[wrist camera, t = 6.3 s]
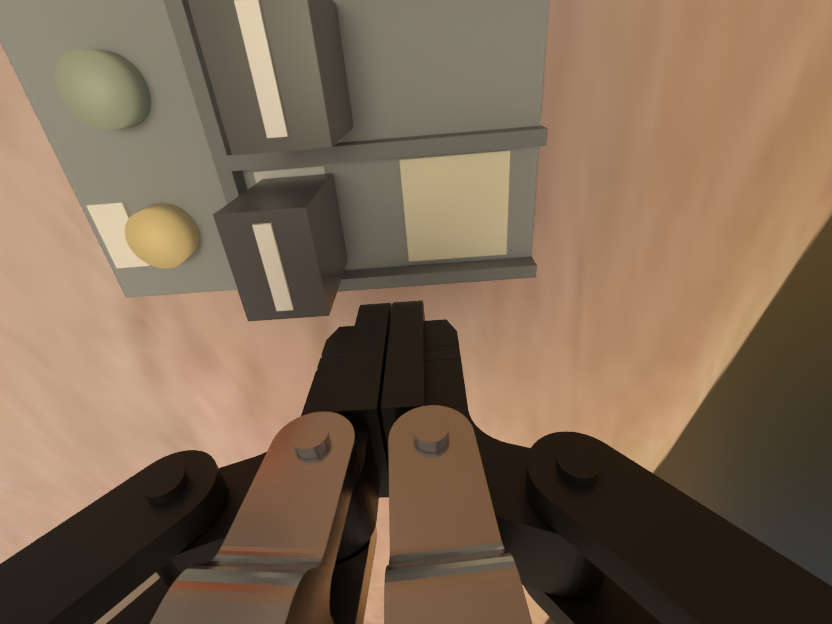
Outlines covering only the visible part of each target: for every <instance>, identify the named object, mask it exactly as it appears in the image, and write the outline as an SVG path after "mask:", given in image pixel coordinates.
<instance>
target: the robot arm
mask: <svg viewBox="0 0 832 624" xmlns="http://www.w3.org/2000/svg"><path fill="white" fill-rule="evenodd" d="M317 368H318V370H317V371H316V373H315V376H314V379H313V382H312V385H311V388H310V391H309V394H308V397H307V400H306V403H305V406H304V409H303V412H302V415H301V417H299V418H296V419H295V420H293V421H291V422H290V423H288V424H287V425H286V426H284V427H283V428H282V429H281V430H280V431H279V432H278V434H277V435H276V436H275V438H274V439H273V441H272V443H271V445H270V447H269V449H268V451H267V452H265V453H263V454H261V455H258V456H256V457H253V458H250V459H246V460H243V461H240V462H237V463H234V464H231V465H228V466H224V467H221V468H218V466H217V464H216V462H215V460H214V459H213V458H212V456H210V455H209V454H207V453H205V452H202V451H197V450H188V451H181V452H177V453H173V454H171V455H168V456H165V457H163V458H161V459H159V460H157V461H156V462H154V463H152V464H151V465H149V466H147V467H146V468H144V469H143V470H141V471H140V472H138V473H137V474H135V475H134V476H132V477H131V478H129V479H128V480H126V481H125V482H123V483H122V484H120V485H119V486H117V487H116V488H114V489H113V490H111V491H110V492H108V493H107V494H105V495H104V496H102V497H101V498H99V499H98V500H96V501H95V502H93V503H92V504H90V505H89V506H87V507H86V508H84V509H83V510H81V511H80V512H78V513H77V514H75V515H73V516H72V517H70V518H69V519H67V520H66V521H64V522H63V523H61V524H60V525H58V526H57V527H55V528H54V529H52V530H51V531H49V532H48V533H46V534H45V535H43V536H42V537H40V538H39V539H37V540H36V541H34V542H33V543H31V544H30V545H28V546H27V547H25V548H24V549H22V550H21V551H19V552H18V553H16V554H15V555H13V556H12V557H10V558H9V559H7V560H6V561H4V562H3V563H1V564H0V624H94V623H96V622H97V621H98V620H99V619H100V618H102V617H103V616H104V615H105V614H106V613H108V612H109V611H110V610H111V609H112V608H114V607H115V606H116V605H117V604H118V603H120V602H121V601H122V600H123V599H124V598H126V597H127V596H128V595H129V594H130V593H132V592H133V591H134V590H135V589H136V588H138V587H139V586H140V585H141V584H142V583H144V582H145V581H146V580H147V579H148V578H150V577H151V576H152V575H153V574H154V573H157V574H158V576H159V577H160V578H159V579H158V580H157V581H156V582H154V583H153V584H152V585H151V586H150V587H149V588H147V589H146V590H145V591H144V592H143V593H141V594H140V595H139V596H138V597H137V598H136V599H134V600H133V601H132V602H131V603H130V604H128V605H127V606H126V607H125V608H124V609H123V610H121V611H120V612H119V613H118V614H117V615H115V616H114V617H113V618H112V619H111V620H110V621H108V622H107V623H106V624H363V621H364V615H365V609H366V603H367V596H368V590H369V584H370V578H371V572H372V566H373V560H374V554H375V548H376V542H377V529H376V521H377V510H378V500H379V498H380V497H389V522H390V560H389V565H387V567H386V571H385V585H384V624H532V621H531V617H530V613H529V609H528V606H527V602H526V598H525V594H524V591H523V587H522V585H524V587H525V589H526V590H527V592H528V594H529V595H530V596H531V597H532V598H533V600H534V601H535V602H536V603H537V604H538V605H539V606H540V607H541V608H542V609H543V610H544V611H545V612H546V613H547V614H548V616H549V617H550V618H551V619H552V620H553V621H554V622H555V623H556V624H832V586H830V585H829V584H827V583H825V582H824V581H822V580H821V579H819V578H818V577H816V576H814V575H813V574H811V573H810V572H808V571H807V570H805V569H803V568H802V567H800V566H799V565H797V564H795V563H794V562H792V561H791V560H789V559H788V558H786V557H784V556H783V555H781V554H779V553H778V552H776V551H775V550H773V549H772V548H770V547H768V546H767V545H765V544H764V543H762V542H761V541H759V540H757V539H756V538H754V537H753V536H751V535H749V534H748V533H746V532H745V531H743V530H741V529H740V528H738V527H737V526H735V525H733V524H732V523H730V522H729V521H727V520H726V519H724V518H723V517H721V516H719V515H718V514H716V513H714V512H713V511H711V510H710V509H708V508H707V507H705V506H703V505H702V504H700V503H698V502H697V501H696V500H694V499H692V498H691V497H689V496H688V495H686V494H684V493H683V492H681V491H680V490H678V489H677V488H675V487H673V486H672V485H670V484H669V483H667V482H665V481H664V480H662V479H661V478H659V477H657V476H656V475H654V474H653V473H651V472H650V471H648V470H646V469H645V468H643V467H642V466H640V465H638V464H637V463H635V462H634V461H632V460H631V459H629V458H627V457H626V456H624V455H623V454H621V453H619V452H618V451H616V450H615V449H613V448H612V447H610V446H608V445H607V444H605V443H603V442H602V441H600V440H598V439H596V438H594V437H591V436H589V435H585V434H582V433H576V432H556V433H552V434H548V435H546V436H544V437H542V438H541V439H539V440H537V442H536V443H535V444H534V445H533V446H532V447H531V448H527V447H523V446H518V445H514V444H509V443H505V442H502V441H499V440H496V439H494V438H492V437H490V436H488V435H487V434H485V433H484V432H483V431H481V430H480V429H479V428H478V427H477V426H476V425H475V424H474V422H473V421H472V419H471V417H470V415H469V411H468V406H467V398H466V391H465V384H464V377H463V370H462V363H461V356H460V349H459V342H458V335H457V331H456V330H455V329H454V327H453V326H452V325H451V324H450V323H449V322H448V321H447V320H432V321H425V316H424V305H423V301H409V302H395V303H393V304H392V305H391V303H382V304H368V305H360V307H359V311H358V315H357V319H356V323H355V326H345V327H339V328H338V329H337V330H336V331H335V332H334V333H333V334H332V335H331V336H330V337H329V338H328V339H327V340H326V343H325V346H324V349H323V352H322V358H320V361H319V364H318V367H317Z"/></svg>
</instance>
